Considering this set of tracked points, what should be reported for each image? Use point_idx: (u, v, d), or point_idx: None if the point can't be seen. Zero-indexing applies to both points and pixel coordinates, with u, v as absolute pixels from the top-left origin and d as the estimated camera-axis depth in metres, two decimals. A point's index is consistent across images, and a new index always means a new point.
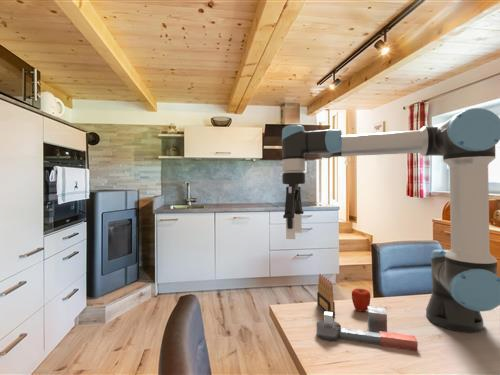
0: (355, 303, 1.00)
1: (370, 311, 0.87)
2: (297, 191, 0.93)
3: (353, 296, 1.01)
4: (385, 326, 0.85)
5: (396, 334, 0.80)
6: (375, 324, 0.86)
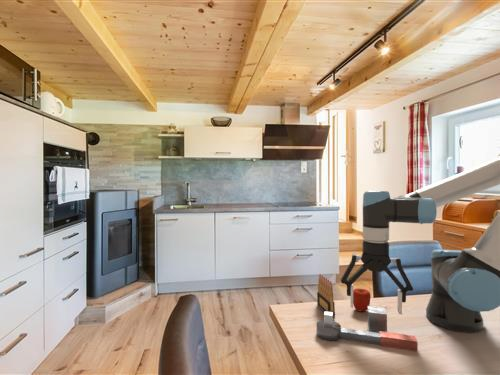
0: (355, 303, 1.00)
1: (370, 311, 0.87)
2: (368, 261, 0.87)
3: (353, 296, 1.01)
4: (385, 326, 0.85)
5: (396, 334, 0.80)
6: (375, 324, 0.86)
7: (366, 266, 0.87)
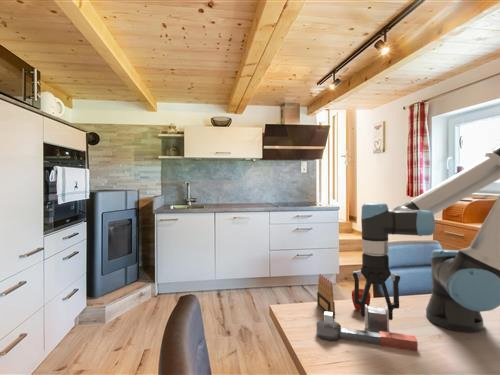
0: None
1: (370, 311, 0.87)
2: (369, 275, 0.87)
3: (353, 296, 1.01)
4: (385, 326, 0.85)
5: (396, 334, 0.80)
6: (375, 324, 0.86)
7: (369, 281, 0.87)
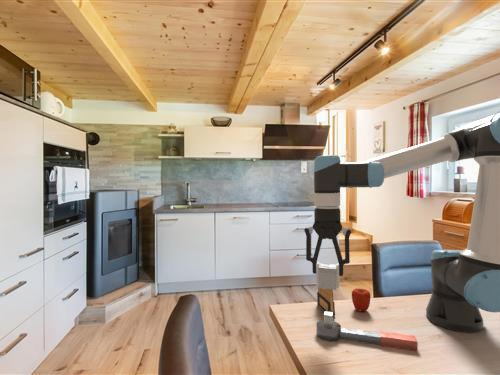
0: (355, 303, 1.00)
1: (320, 267, 0.84)
2: (320, 230, 0.84)
3: (353, 296, 1.01)
4: (334, 281, 0.82)
5: (396, 334, 0.80)
6: (324, 280, 0.83)
7: (320, 235, 0.84)
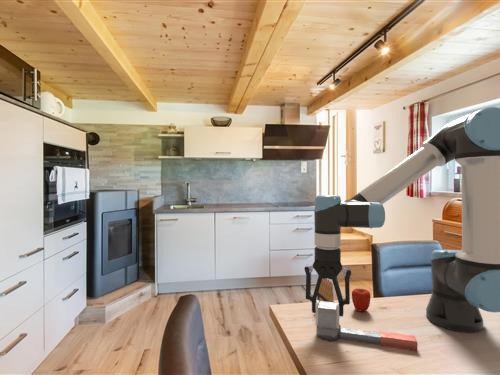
0: (355, 303, 1.00)
1: (320, 306, 0.84)
2: (320, 270, 0.84)
3: (353, 296, 1.01)
4: (334, 322, 0.82)
5: (396, 334, 0.80)
6: (324, 320, 0.83)
7: (320, 275, 0.84)
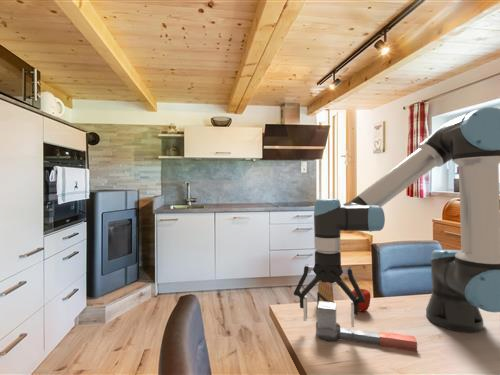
0: None
1: (319, 306, 0.84)
2: (320, 273, 0.84)
3: None
4: (334, 322, 0.82)
5: (396, 334, 0.80)
6: (323, 320, 0.83)
7: (318, 277, 0.84)
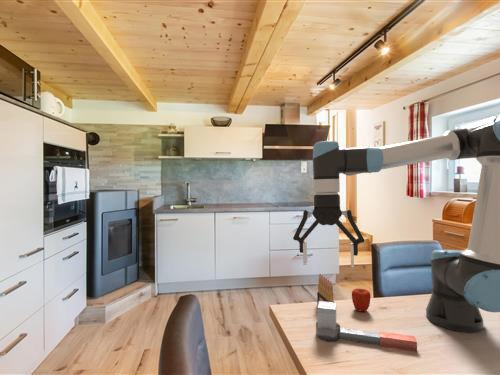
0: (355, 303, 1.00)
1: (319, 306, 0.84)
2: (319, 215, 0.84)
3: (353, 296, 1.01)
4: (334, 322, 0.82)
5: (396, 334, 0.80)
6: (323, 320, 0.83)
7: (317, 220, 0.84)
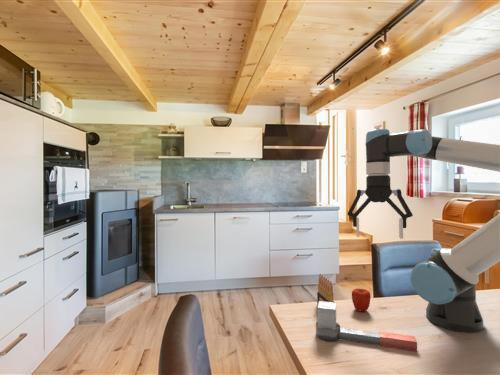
0: (355, 303, 1.00)
1: (319, 306, 0.84)
2: (372, 194, 0.97)
3: (353, 296, 1.01)
4: (334, 322, 0.82)
5: (396, 334, 0.80)
6: (323, 320, 0.83)
7: (370, 198, 0.97)
